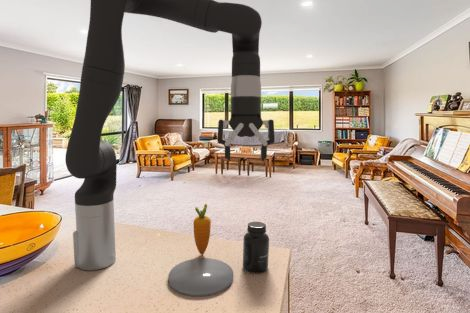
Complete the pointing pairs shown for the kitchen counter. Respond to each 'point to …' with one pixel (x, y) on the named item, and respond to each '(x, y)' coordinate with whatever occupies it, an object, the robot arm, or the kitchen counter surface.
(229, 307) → the kitchen counter surface
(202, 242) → the carrot
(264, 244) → the supplement bottle
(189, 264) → the slate plate
